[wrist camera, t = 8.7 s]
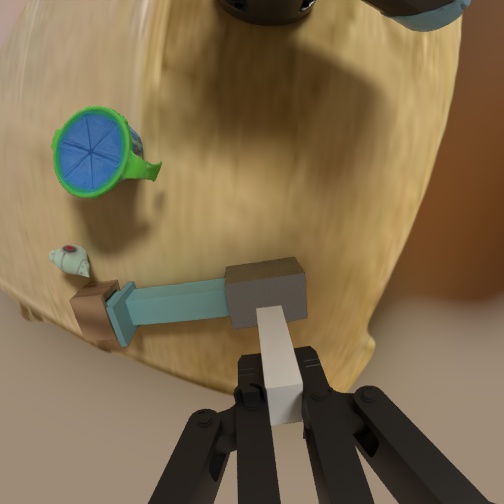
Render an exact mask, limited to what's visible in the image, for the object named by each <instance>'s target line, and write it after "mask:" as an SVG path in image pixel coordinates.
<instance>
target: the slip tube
mask: <svg viewBox="0 0 504 504" xmlns="http://www.w3.org/2000/svg"><path fill="white" fill-rule="evenodd" d="M224 283H225V278H221V279H213V280H206V281H198V282H190V283H182V284H174V285H166V286H158V287H150V288H141V289H136V287H135V284H134V282H128V283H127V284H126V285H125V287H124V288H123V289H122V290H121V291H115V292H113V293H112V294H111V295H110V296H109V297H108V299H107V300H106V301H105V302H106V305H107V308H106V309H107V312H108V315H109V317H110V320H111V323H112V325H113V328H114V330H115V333H116V336H117V338H118V341H119V343H120V345H121V347H124V346H128V344H129V342H130V340H131V338H132V337H133V335H134V333H135V331H136V329H137V328H138V326H139V325H145V324H158V323H169V322H180V321H190V320H200V319H209V318H218V317H226V316H230V312H229V307H228V301H227V296H226V291H225V285H224Z"/></svg>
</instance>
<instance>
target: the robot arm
mask: <svg viewBox="0 0 504 504" xmlns="http://www.w3.org/2000/svg"><path fill="white" fill-rule="evenodd" d="M218 1H219V3H220V5H221V6H222V7H223V8H224V9H225V10H226V11H227V12H228V13H229V14H231V15H233V16H234V17H236V18H238V19H240V20H243V21H246V22H249V23H253V24H258V25H270V26H271V25H284V24H289V23H292V22H295V21H297V20H299V19H301V18H303V17H304V16H306V15H307V14H308V13H309V12H310V10H311V9H312V7H313V5H314V3H315V1H316V0H218ZM361 1H363V2H365V3H366V4H368V5H370V6H372V7H373V8H375V9H377V10H378V11H380V13H381V14H383V15H384V16H386V17H388V18H391V19H393V20H395V21H397V22H398V23H400V24H401V25H403V26H404V27H406V28H408V29H410V30H413V31H419V32H429V31H433V30H437V29H439V28H442V27H444V26H446V25H448V24H450V23H451V22H453V21H454V20H456V19H457V18H458V17H460V16H461V15H462V14H463V11H462V10H463V9H466V8H467V7H468V6H469V4H470V2H471V0H361ZM256 312H257V321H258V329H259V338H260V347H261V353H258V354H249V355H242V356H241V358H240V359H239V361H238V386H237V387H236V388H235V390H234V398H235V402H236V403H235V405H234V406H233V407H231V408H230V409H227V410H225V411H222V412H219V413H217V412H216V411H214V410H211V409H202V410H198V411H196V412H194V413H193V414H192V415H191V416H190V418H189V420H188V422H187V424H186V426H185V428H184V430H183V432H182V434H181V437H180V439H179V441H178V443H177V445H176V447H175V449H174V451H173V453H172V455H171V457H170V460H169V462H168V464H167V466H166V468H165V470H164V472H163V474H162V476H161V478H160V480H159V482H158V484H157V486H156V488H155V490H154V492H153V494H152V496H151V498H150V501H149V502H148V504H213V503H214V501H215V498H216V495H217V492H218V489H219V486H220V483H221V480H222V477H223V474H224V471H225V467H226V465H227V462H228V458H229V455H230V452H232V451H235V450H237V480H238V482H237V483H238V504H281V501H280V494H279V486H278V479H277V470H276V462H275V454H274V446H273V438H272V431H271V426H272V425H281V424H288V423H295V422H301V421H302V419H303V423H304V432H303V439H306V444H307V449H308V453H309V457H310V462H311V467H312V472H313V476H314V481H315V485H316V491H317V496H318V500H319V504H374V501H373V498H372V494H371V491H370V488H369V485H368V482H367V479H366V477H365V474H364V471H363V468H362V465H361V462H360V459H359V456H358V454H357V451H356V448H355V446H356V447H357V448H358V450H359V451H360V453H361V454H362V456H363V457H364V458H365V459H366V461H367V462H368V464H369V465H370V466H371V468H372V469H373V470H374V472H375V473H376V474H377V475H378V477H379V478H380V480H381V481H382V482H383V483H384V484H385V486H386V487H387V489H388V490H389V491H390V493H391V494H392V495H393V497H394V498H395V499H396V500H397V502H398V503H399V504H495V503H492V502H489V501H488V500H487V499H486V498H485V497H484V496H483V495H482V494H481V493H480V492H479V491H478V490H477V489H476V488H475V486H474V485H473V484H472V483H471V482H470V481H469V480H468V479H467V478H466V477H465V476H464V475H463V474H462V473H461V472H460V471H459V470H458V469H457V468H456V467H455V466H454V465H453V464H452V463H451V462H450V461H449V460H448V459H447V458H446V457H445V456H444V455H443V454H442V453H441V452H440V450H439V449H438V448H437V447H436V446H435V445H434V444H433V443H432V442H431V441H430V440H429V439H428V438H427V437H426V436H425V435H424V434H423V433H422V432H421V431H420V430H419V429H418V428H417V427H416V426H415V425H414V424H413V423H412V422H411V420H410V419H409V418H407V417H406V415H405V414H403V412H402V411H401V410H400V409H399V408H398V407H397V406H396V405H395V404H394V403H393V402H392V401H391V400H390V399H389V398H388V397H387V396H386V395H385V394H384V392H382V391H381V390H380V389H379V388H377V387H375V386H363V387H360V388H359V389H357V390H356V392H355V393H340V392H337V391H335V390H333V388H331V387H330V386H329V384H328V382H327V379H326V376H325V374H324V371H323V368H322V366H321V363H320V360H319V358H318V355H317V352H316V351H315V350H314V349H313V348H312V347H311V346H306V347H300V348H293V345H292V342H291V338H290V335H289V331H288V327H287V324H286V320H285V317H284V313H283V309H282V306H281V305H280V306H272V307H264V308H256Z"/></svg>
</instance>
